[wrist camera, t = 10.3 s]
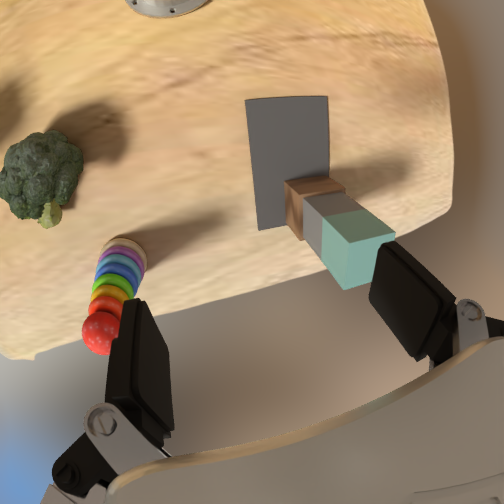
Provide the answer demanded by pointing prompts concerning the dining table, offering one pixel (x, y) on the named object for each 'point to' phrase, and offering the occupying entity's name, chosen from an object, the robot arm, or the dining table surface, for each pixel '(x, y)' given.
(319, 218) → the tower mid
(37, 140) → the vegetable
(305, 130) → the mat
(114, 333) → the stacking toy
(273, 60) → the dining table surface
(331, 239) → the teal cube
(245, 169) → the dining table surface
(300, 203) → the tower base
